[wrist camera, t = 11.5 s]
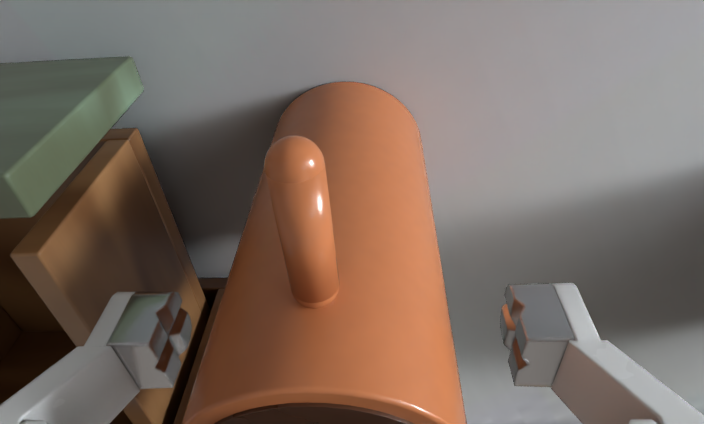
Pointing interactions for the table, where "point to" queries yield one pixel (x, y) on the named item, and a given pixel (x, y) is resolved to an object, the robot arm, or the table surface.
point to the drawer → (81, 222)
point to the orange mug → (335, 279)
